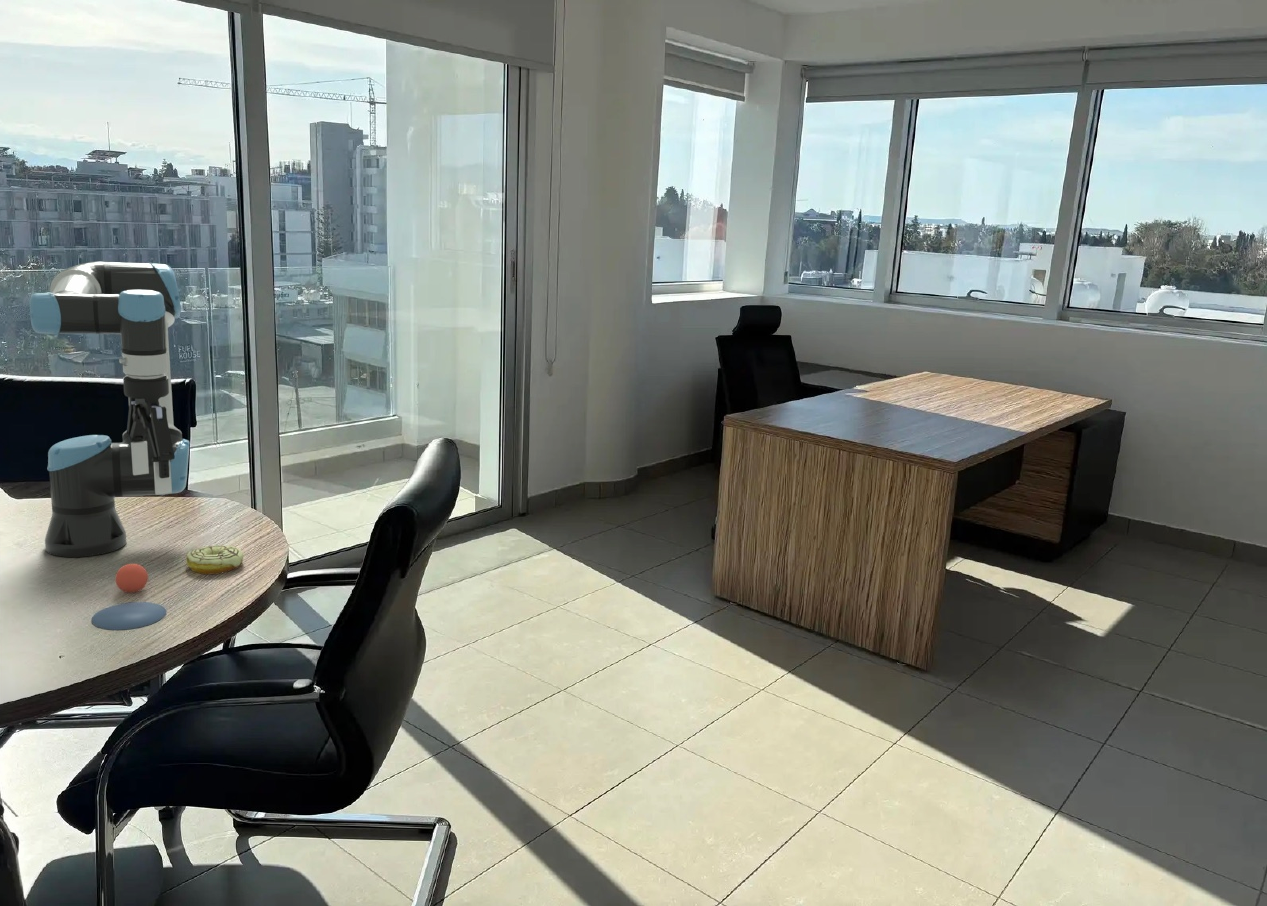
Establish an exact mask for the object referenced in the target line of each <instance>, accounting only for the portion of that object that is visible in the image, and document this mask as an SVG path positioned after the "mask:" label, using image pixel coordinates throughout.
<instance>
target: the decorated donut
mask: <svg viewBox="0 0 1267 906" xmlns="http://www.w3.org/2000/svg"><path fill="white" fill-rule="evenodd" d="M243 556H244V553H243V551H242V550H241V549H240V548H238V547H236V546H233V545H222V544H218V545H207V546H201V547H197V548H195V549H193V550H192V549H191V551H189V552H188V553H187V554H186V559H185V560H186V561H185V562H186V564H187V566H188V567H189V568H190V570H191V571H193V572H194V573H197V574H202V575H208V574H209V575H210V574H211V575H217V574H216V573H219V574H223V573H222V572H224V573H228V572H230V571H232V569H233V570H235V569H238V568H239V567H240V566H241V565H242V562H243V558H244V557H243ZM237 567H238V568H237ZM227 571H228V572H227Z"/></svg>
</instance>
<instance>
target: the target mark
mask: <svg viewBox="0 0 1267 906" xmlns="http://www.w3.org/2000/svg"><path fill="white" fill-rule="evenodd" d="M166 615H167V608H165V606H163V605H162V604H160V603H159V604H158V603H155V602H149V601H147V602H146V601H135V602H134V601H133V602H125V603H119V604H115V605H111V606H108V607H105V608H103V609H101V610H98V611H96V612H95V613H94V614H93V615H92V617H91V623H92V625H93V626H95V627H97V628H100V629H103V630H108V631H109V630H110V631H123V630H124V631H126V630H134V629H140V628H144V627H147V626H150V625H152V624H156V623H157V622H159V621H161V620H163V618H164V617H165V616H166Z"/></svg>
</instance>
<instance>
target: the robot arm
mask: <svg viewBox="0 0 1267 906" xmlns="http://www.w3.org/2000/svg"><path fill="white" fill-rule="evenodd" d="M49 291H50V292H48V291H46V292H41V293H40V292H36V293H33V294H32V295H31V296H30V299H29V315H30V324H31V328H32V330H33V331H34V332H35V333H36V334H43V335H44V334H46V335H47V334H48V335H53V336H56V335H65V334H67V335H73V334H74V335H94V334H95V335H120V344H121V356H122V357H121V358H119V359H118V362H119V363H120V364H122V372H123V373H124V376H123V378H122V380H123V381H122V382H123V394H124V396H125V397H127V398H128V415H127V425H126V430H125V431H124V432H123V433H122V442H112V439H111V438H110V436H108V435H104V434H89V435H82V436H81V435H80V436H77V437H72V438H71V437H70V438H68V439H64V440H62V441H59V442H57V443H55V444H53V445H52V446H51V447H50V448H49V449H48V452H47V457H48V459H47V462H48V463H47V468H46V469H47V471H48V474H49V475H48V476H49V487H50V501H51V518H50V521H49V525H48V527H47V529H46V530H47V531H46V534H45V539H44V544H45V548H44V549H45V551H46V552H47V553H48V554H50V555H53V556H57V557H63V558H81V557H82V558H84V557H92V556H98V555H99V556H100V555H103V554H104V555H105V554H108V553H111V552H114V551H117V550H119V549H121V548H123V547H124V546H126V544H127V534H126V533H127V532H126V530H125V527H124V525H123V522H122V520H121V518H120V516H119V513H118V512H117V509H116V503H115V498H125V497H141V496H143V497H144V496H157V495H159V496H164V495H169V494H170V495H171V494H178V493H181V492H183V491H184V490H185V488H186V486H187V479H188V468H189V454H190V440H188V439H185V438H183V433H182V431H181V429H178V428H177V427H176V426H175V425H174V424H175V423H174V411H173V409H174V408H173V392H172V390H173V389H172V378H171V362H170V360H171V359H170V344H169V343H170V342H169V327H171V326H173V324H174V323H175V320H176V319H175V317H177V316H179V315H181V314H182V310H181V309H182V307H181V300H180V293H179V288H178V282H177V278H176V276H175V271H174V269H173V268H172V267H171V266H170V265H169V264H164V263H153V262H146V263H145V262H119V261H118V262H115V261H90V262H83V263H79V264H77V265H73V266H69V267H68V268H65V269H63V270H61V271H60V272H59V273H57V274H56V275H55V276H54V278H53V279H52V281H51V284H50V289H49Z"/></svg>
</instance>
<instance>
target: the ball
mask: <svg viewBox="0 0 1267 906" xmlns="http://www.w3.org/2000/svg"><path fill="white" fill-rule="evenodd" d="M115 574H116V575H115V577H114V578H115V583H116V586H117V588H119V589H120V591H122V592H125V593H130V594H131V593H137V592H140V590H142V589H144V588H145V586H146V585H147V583H148V576H149V575H148V572H147V570H146V569H145V568H144V566H142V565H140V564H137V563H128V564H125V565H123V566H121V567H120V568H119V569H118V571H116V573H115Z"/></svg>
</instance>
